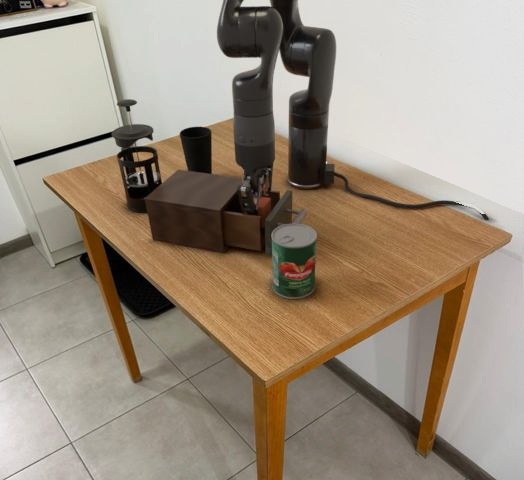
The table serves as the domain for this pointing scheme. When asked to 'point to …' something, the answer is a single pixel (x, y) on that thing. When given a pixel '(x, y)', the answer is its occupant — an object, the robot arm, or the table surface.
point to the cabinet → (191, 209)
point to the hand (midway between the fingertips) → (257, 220)
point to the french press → (136, 180)
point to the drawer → (258, 222)
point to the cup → (197, 149)
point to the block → (263, 209)
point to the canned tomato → (293, 260)
